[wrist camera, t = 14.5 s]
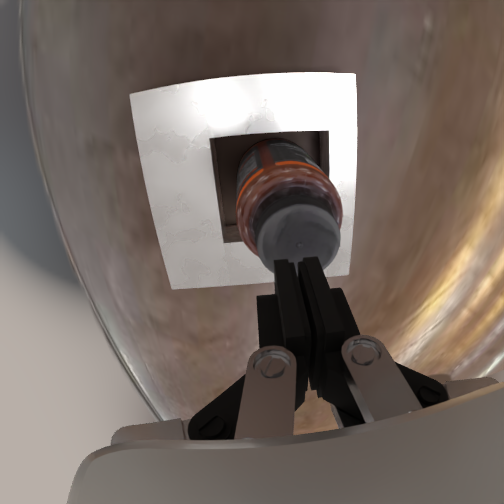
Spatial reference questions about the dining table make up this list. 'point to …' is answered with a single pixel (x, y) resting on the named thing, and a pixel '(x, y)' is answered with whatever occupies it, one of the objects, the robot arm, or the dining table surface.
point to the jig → (206, 168)
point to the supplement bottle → (286, 205)
